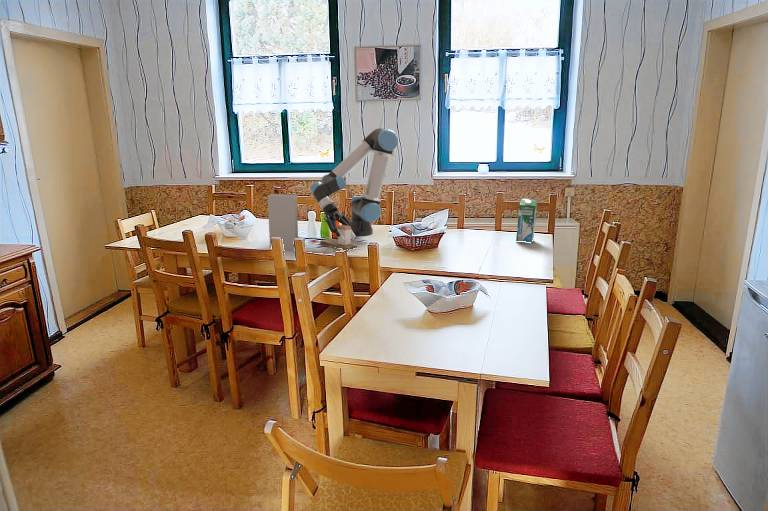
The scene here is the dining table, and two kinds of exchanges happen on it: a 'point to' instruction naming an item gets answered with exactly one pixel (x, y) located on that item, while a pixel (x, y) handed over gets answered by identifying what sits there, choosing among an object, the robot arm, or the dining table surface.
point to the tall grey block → (283, 219)
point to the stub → (345, 234)
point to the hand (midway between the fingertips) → (348, 239)
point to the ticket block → (334, 243)
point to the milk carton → (526, 220)
